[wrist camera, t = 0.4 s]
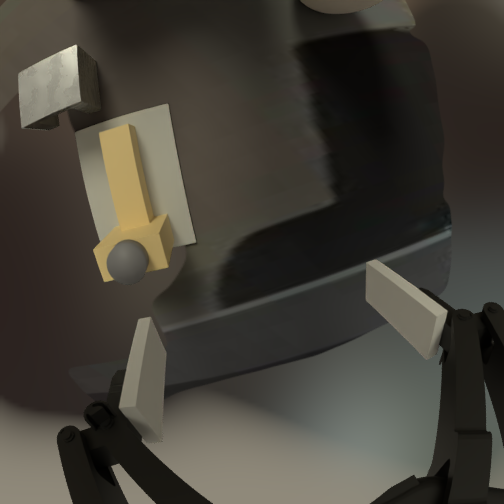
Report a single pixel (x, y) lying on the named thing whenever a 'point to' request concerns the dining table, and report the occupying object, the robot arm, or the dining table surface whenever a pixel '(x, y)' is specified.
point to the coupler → (131, 214)
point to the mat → (154, 167)
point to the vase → (339, 5)
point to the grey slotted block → (58, 88)
